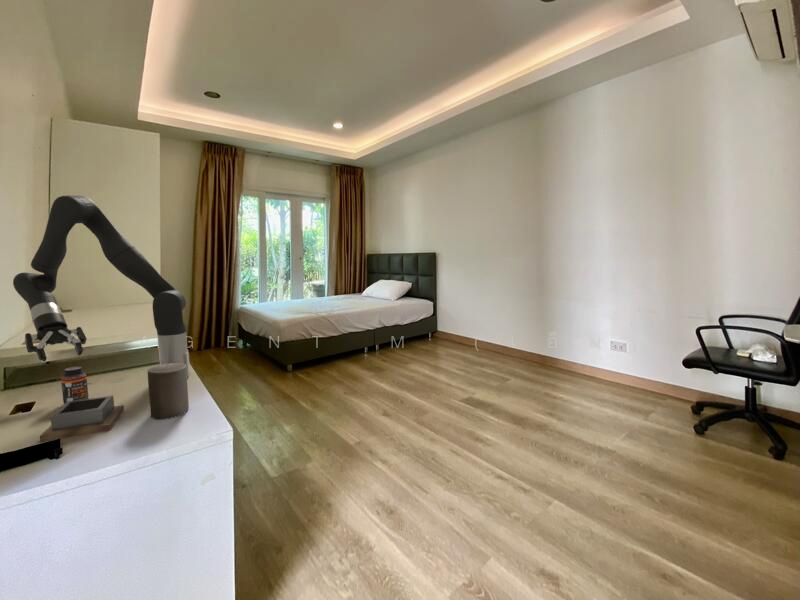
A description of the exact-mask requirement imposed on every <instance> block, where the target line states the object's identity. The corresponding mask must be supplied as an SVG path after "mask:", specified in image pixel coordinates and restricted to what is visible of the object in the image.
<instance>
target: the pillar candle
mask: <svg viewBox="0 0 800 600" xmlns="http://www.w3.org/2000/svg"><path fill="white" fill-rule="evenodd" d="M186 367H187V366H186V365H185V364H180V363H170V364H167V363H166V364H163V365H160V364H159V365H155V366H152V367H150V368H148V370H147V384H148V396H149V409H150V410H149V411H150V418H152V419H154V420H166V418H168V419H171V417H173V418H176V417H175V416H177V417H179V416H178V415H180V414H182V413H184V412H186V411H187V410H188V409H189V410H190V406H189V404H190V403H189V387H188V377H187V369H186ZM189 410H188V411H189ZM188 411H187V412H188ZM187 412H186V413H187ZM184 414H185V413H184ZM182 415H183V414H182ZM180 416H181V415H180Z"/></svg>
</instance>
